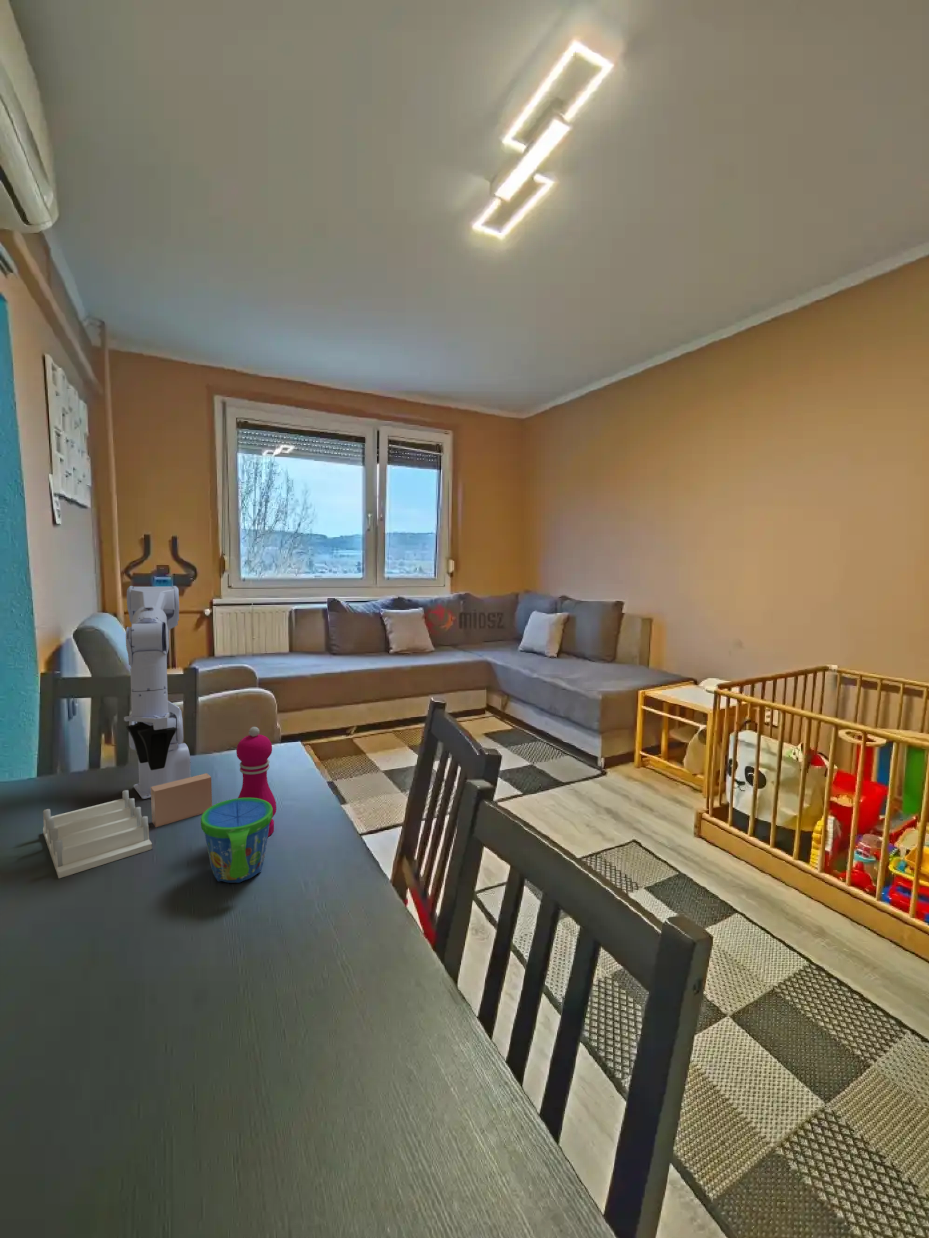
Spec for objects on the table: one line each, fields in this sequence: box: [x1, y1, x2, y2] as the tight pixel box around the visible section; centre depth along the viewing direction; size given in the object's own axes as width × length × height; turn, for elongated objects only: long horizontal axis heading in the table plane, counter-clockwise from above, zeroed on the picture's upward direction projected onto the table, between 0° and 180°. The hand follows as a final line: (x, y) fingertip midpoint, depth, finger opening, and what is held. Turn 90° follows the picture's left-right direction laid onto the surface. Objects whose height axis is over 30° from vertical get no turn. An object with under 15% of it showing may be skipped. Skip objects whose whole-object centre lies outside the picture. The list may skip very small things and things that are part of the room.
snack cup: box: [200, 797, 274, 884], centre depth 87 cm, size 16×10×10 cm
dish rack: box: [42, 789, 153, 879], centre depth 95 cm, size 13×18×5 cm
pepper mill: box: [235, 726, 277, 838], centre depth 99 cm, size 7×7×20 cm
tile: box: [150, 772, 213, 828], centre depth 105 cm, size 10×2×7 cm, turn 133°
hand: (151, 765), depth 98 cm, fingers open, 7 cm apart
